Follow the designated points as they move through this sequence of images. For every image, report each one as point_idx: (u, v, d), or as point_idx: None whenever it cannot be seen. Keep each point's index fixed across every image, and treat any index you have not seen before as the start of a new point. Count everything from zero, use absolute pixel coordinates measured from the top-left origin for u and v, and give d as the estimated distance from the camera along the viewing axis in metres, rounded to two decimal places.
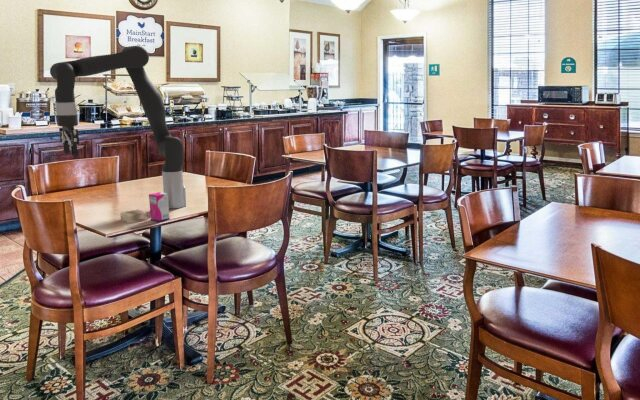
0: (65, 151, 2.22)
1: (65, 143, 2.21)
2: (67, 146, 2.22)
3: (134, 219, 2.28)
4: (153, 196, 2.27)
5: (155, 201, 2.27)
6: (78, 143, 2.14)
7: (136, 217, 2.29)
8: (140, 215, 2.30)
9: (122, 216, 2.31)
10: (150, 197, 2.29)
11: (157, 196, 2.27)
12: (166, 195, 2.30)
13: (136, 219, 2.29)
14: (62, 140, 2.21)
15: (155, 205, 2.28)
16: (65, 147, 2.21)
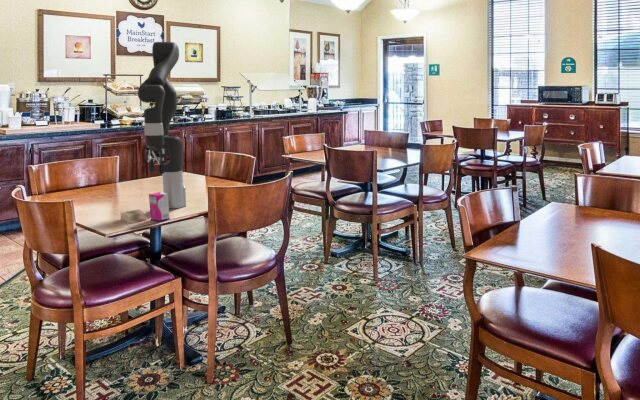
0: (150, 169, 2.30)
1: (151, 161, 2.30)
2: (152, 164, 2.30)
3: (134, 219, 2.28)
4: (153, 196, 2.27)
5: (155, 201, 2.27)
6: (166, 162, 2.23)
7: (136, 217, 2.29)
8: (140, 215, 2.30)
9: (122, 216, 2.31)
10: (150, 197, 2.29)
11: (157, 196, 2.27)
12: (166, 195, 2.30)
13: (136, 219, 2.29)
14: (148, 159, 2.29)
15: (155, 205, 2.28)
16: (150, 165, 2.30)
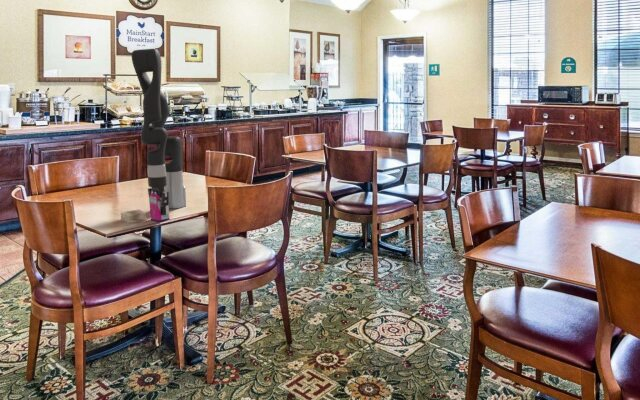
0: None
1: None
2: None
3: (133, 219, 2.28)
4: (153, 196, 2.27)
5: (155, 201, 2.27)
6: (167, 204, 2.27)
7: (136, 217, 2.29)
8: (139, 215, 2.30)
9: (122, 216, 2.31)
10: (150, 197, 2.29)
11: (157, 196, 2.27)
12: None
13: (136, 219, 2.29)
14: None
15: (155, 205, 2.28)
16: None
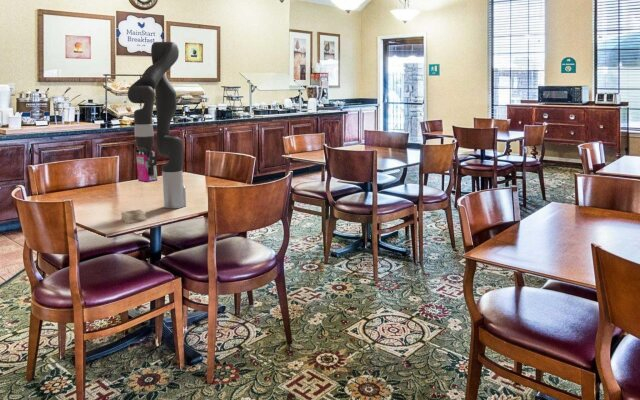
0: None
1: None
2: None
3: (133, 219, 2.28)
4: (140, 156, 2.24)
5: (143, 161, 2.23)
6: (155, 164, 2.24)
7: (135, 217, 2.29)
8: (139, 215, 2.29)
9: (122, 216, 2.31)
10: (137, 158, 2.26)
11: (145, 156, 2.23)
12: None
13: (135, 220, 2.29)
14: None
15: (143, 165, 2.24)
16: None
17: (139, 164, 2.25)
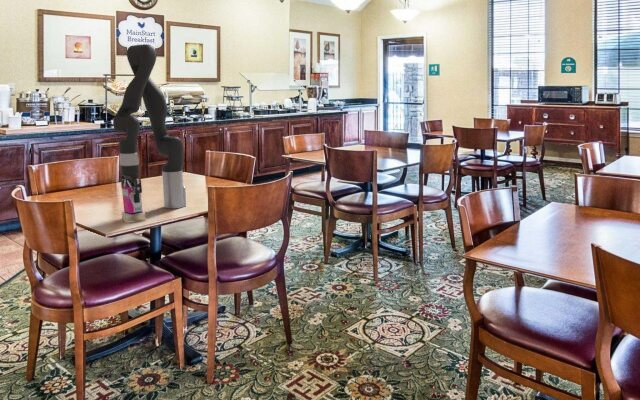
0: None
1: None
2: None
3: (132, 219, 2.28)
4: (125, 189, 2.28)
5: (127, 193, 2.27)
6: (141, 192, 2.25)
7: (134, 218, 2.29)
8: (138, 216, 2.29)
9: (122, 216, 2.32)
10: (123, 190, 2.29)
11: (129, 189, 2.27)
12: None
13: (134, 220, 2.29)
14: None
15: (127, 198, 2.28)
16: None
17: (124, 196, 2.29)
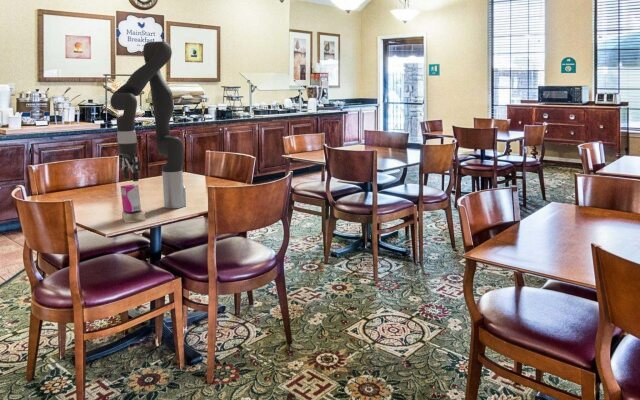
0: (125, 177, 2.31)
1: (125, 169, 2.31)
2: (127, 172, 2.31)
3: (131, 219, 2.28)
4: (123, 188, 2.29)
5: (125, 192, 2.28)
6: (139, 170, 2.23)
7: (134, 218, 2.29)
8: (138, 216, 2.29)
9: (122, 215, 2.32)
10: (121, 189, 2.31)
11: (127, 187, 2.28)
12: (137, 187, 2.30)
13: (134, 220, 2.29)
14: (122, 166, 2.30)
15: (125, 197, 2.29)
16: (125, 173, 2.31)
17: (123, 195, 2.30)
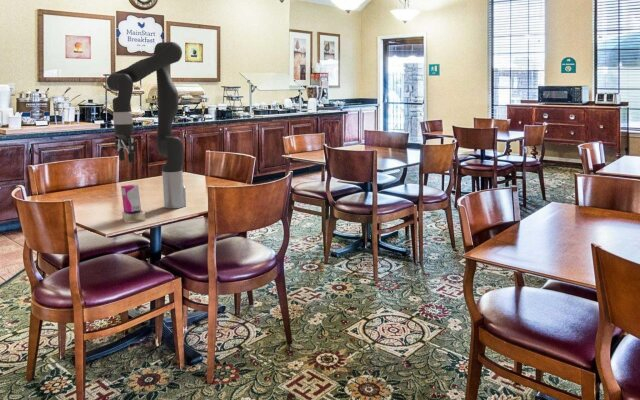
0: (120, 158, 2.31)
1: (120, 150, 2.30)
2: (122, 153, 2.31)
3: (131, 219, 2.28)
4: (123, 187, 2.29)
5: (125, 192, 2.28)
6: (135, 151, 2.23)
7: (134, 218, 2.29)
8: (138, 216, 2.29)
9: (123, 215, 2.32)
10: (122, 189, 2.31)
11: (126, 187, 2.27)
12: (137, 187, 2.30)
13: (134, 220, 2.29)
14: (118, 148, 2.30)
15: (125, 196, 2.28)
16: (120, 154, 2.31)
17: (123, 195, 2.30)
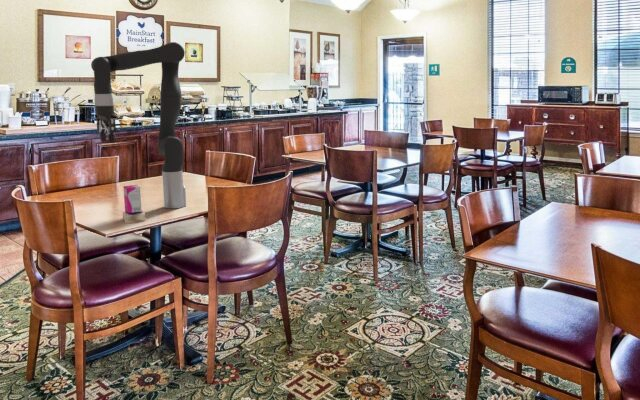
0: (102, 139, 2.40)
1: (102, 132, 2.39)
2: (104, 134, 2.40)
3: (131, 220, 2.28)
4: (125, 188, 2.28)
5: (126, 193, 2.27)
6: (115, 131, 2.32)
7: (134, 218, 2.28)
8: (138, 216, 2.29)
9: (123, 216, 2.32)
10: (124, 189, 2.30)
11: (127, 188, 2.27)
12: (138, 188, 2.29)
13: (134, 220, 2.28)
14: (99, 129, 2.39)
15: (126, 197, 2.28)
16: (102, 135, 2.39)
17: (124, 195, 2.30)
